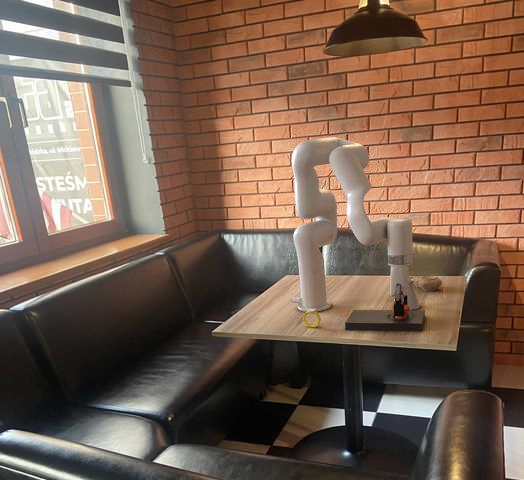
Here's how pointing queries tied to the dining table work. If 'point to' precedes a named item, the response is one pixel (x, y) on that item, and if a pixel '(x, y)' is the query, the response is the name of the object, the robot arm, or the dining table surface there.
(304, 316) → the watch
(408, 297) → the flask
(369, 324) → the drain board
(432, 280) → the oil lamp
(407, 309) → the stopper
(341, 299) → the dining table surface
